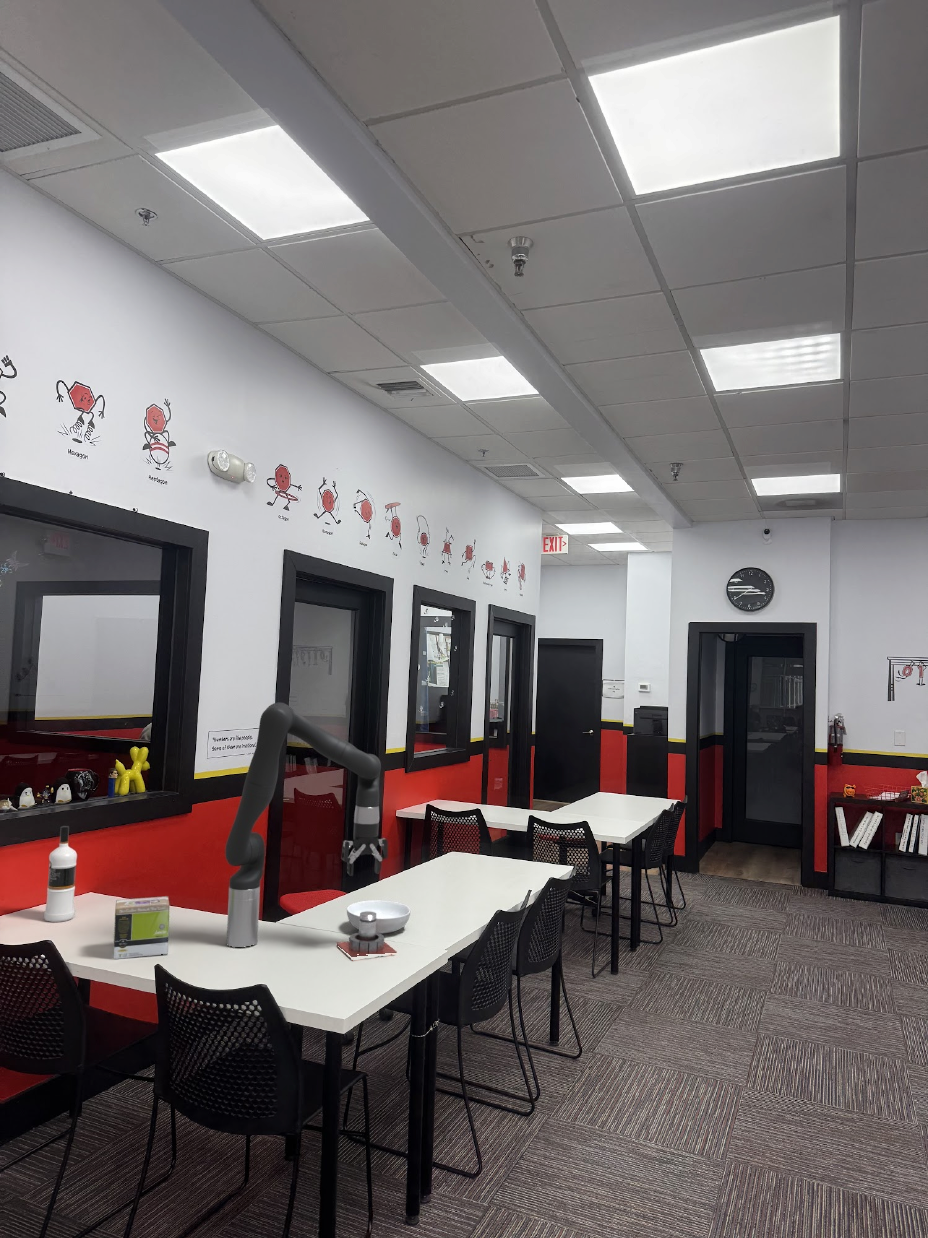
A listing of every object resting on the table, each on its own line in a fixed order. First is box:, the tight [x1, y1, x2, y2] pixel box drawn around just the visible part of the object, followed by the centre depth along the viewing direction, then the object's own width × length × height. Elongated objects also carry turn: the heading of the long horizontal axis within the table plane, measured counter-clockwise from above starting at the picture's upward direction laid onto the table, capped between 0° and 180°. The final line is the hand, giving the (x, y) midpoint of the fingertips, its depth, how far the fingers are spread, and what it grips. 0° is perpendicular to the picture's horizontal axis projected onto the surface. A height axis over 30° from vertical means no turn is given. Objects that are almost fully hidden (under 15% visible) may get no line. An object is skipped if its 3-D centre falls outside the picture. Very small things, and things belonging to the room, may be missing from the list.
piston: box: [358, 911, 376, 941], centre depth 260 cm, size 5×5×10 cm
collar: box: [336, 932, 398, 957], centre depth 260 cm, size 14×14×4 cm
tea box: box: [113, 895, 170, 960], centre depth 252 cm, size 15×10×15 cm
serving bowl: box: [346, 899, 411, 935], centre depth 281 cm, size 21×21×7 cm
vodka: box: [43, 825, 78, 923], centre depth 282 cm, size 9×9×30 cm
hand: (363, 874), depth 261 cm, fingers open, 8 cm apart
